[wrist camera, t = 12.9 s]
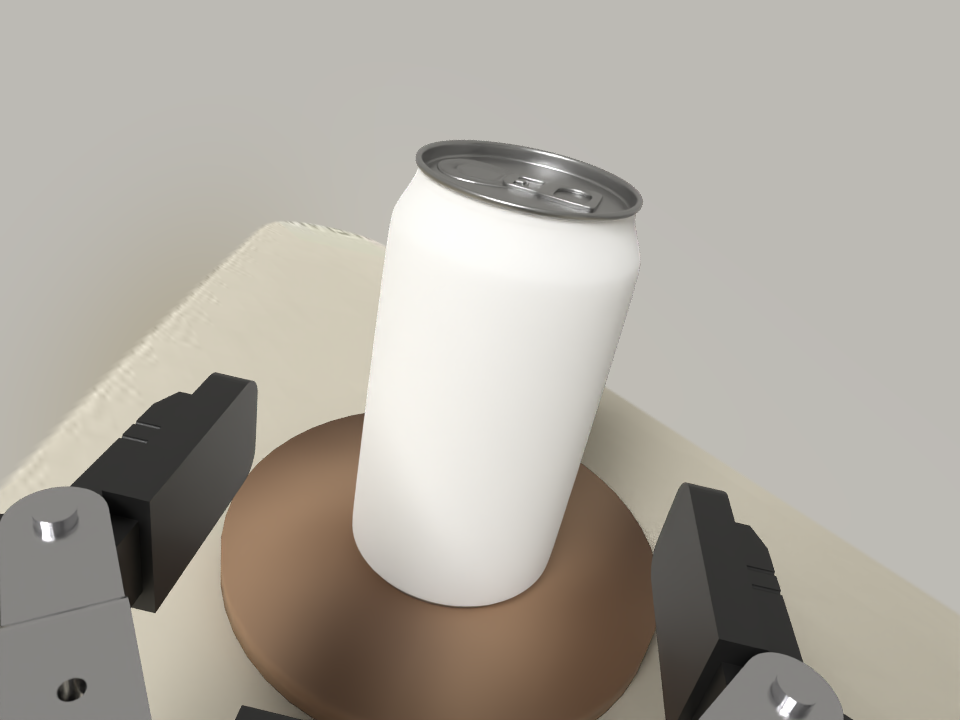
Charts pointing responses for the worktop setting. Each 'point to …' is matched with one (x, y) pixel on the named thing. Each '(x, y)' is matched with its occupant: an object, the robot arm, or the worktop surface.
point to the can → (488, 364)
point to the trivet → (426, 604)
